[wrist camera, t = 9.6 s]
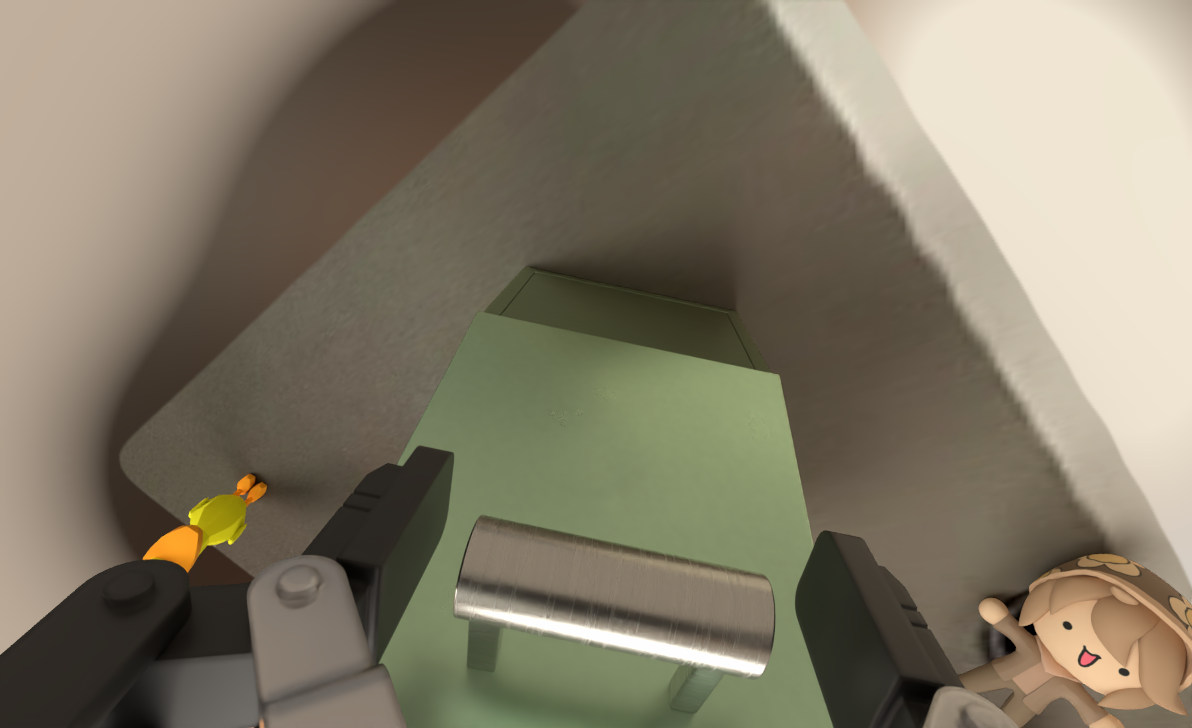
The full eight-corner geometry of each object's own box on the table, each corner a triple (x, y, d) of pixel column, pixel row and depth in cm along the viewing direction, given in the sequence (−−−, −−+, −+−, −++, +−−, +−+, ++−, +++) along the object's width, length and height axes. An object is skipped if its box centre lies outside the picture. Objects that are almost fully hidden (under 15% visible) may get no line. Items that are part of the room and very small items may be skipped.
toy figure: (255, 443, 42) (116, 552, 31) (296, 472, 43) (174, 589, 31) (213, 498, 44) (69, 619, 33) (253, 525, 45) (125, 653, 34)
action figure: (902, 659, 41) (1090, 526, 35) (939, 629, 48) (1096, 517, 43) (1033, 817, 35) (1284, 690, 29) (1050, 753, 43) (1249, 643, 37)
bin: (675, 512, 42) (687, 630, 31) (493, 474, 41) (446, 580, 31) (736, 311, 36) (774, 377, 26) (525, 266, 36) (480, 314, 26)
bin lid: (861, 871, 13) (1029, 798, 9) (260, 747, 13) (183, 621, 9) (773, 387, 26) (828, 277, 22) (477, 324, 25) (481, 203, 22)
